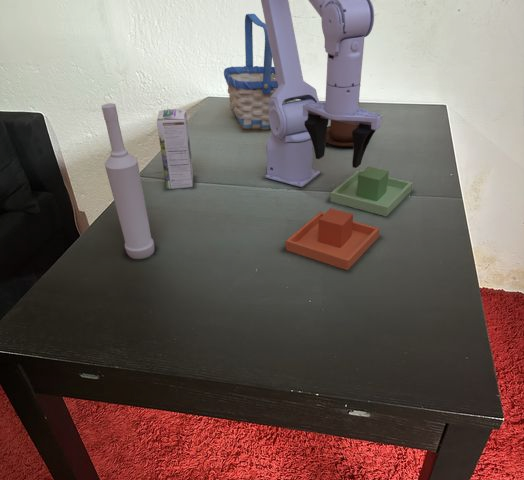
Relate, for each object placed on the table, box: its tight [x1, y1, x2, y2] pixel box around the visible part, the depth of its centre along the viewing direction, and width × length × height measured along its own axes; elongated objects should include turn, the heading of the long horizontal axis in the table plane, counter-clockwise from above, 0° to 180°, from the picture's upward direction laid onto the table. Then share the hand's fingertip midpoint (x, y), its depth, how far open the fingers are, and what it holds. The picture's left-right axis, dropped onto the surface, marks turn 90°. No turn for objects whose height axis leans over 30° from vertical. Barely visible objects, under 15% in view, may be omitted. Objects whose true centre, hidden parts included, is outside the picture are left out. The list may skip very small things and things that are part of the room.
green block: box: [357, 166, 390, 201], centre depth 105 cm, size 4×4×4 cm
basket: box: [223, 13, 290, 131], centre depth 132 cm, size 21×16×24 cm
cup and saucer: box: [325, 120, 359, 147], centre depth 126 cm, size 12×12×6 cm
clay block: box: [318, 207, 354, 248], centre depth 93 cm, size 4×4×4 cm
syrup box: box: [156, 108, 194, 190], centre depth 109 cm, size 6×6×14 cm
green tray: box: [329, 169, 413, 217], centre depth 106 cm, size 12×12×2 cm
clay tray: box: [285, 211, 381, 271], centre depth 93 cm, size 12×12×2 cm
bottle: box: [101, 102, 156, 260], centre depth 86 cm, size 5×5×25 cm
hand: (338, 161), depth 97 cm, fingers open, 7 cm apart
